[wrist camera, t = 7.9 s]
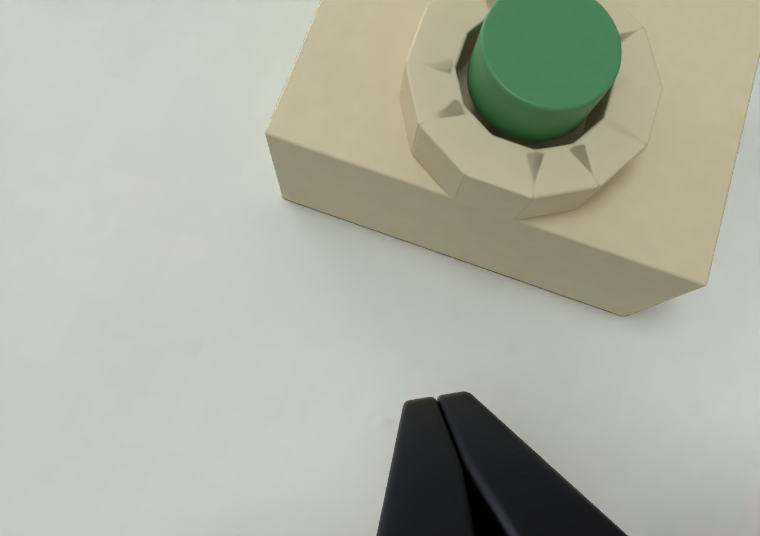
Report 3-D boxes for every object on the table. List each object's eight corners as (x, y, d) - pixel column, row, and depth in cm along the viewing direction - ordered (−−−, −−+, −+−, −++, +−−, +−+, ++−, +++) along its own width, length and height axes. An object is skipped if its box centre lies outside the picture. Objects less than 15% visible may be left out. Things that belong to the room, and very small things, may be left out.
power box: (623, 319, 22) (749, 273, 15) (281, 199, 22) (253, 102, 16) (691, 60, 24) (826, -80, 18) (379, -45, 25) (393, -223, 18)
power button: (575, 161, 16) (602, 130, 14) (449, 118, 16) (461, 82, 14) (608, 48, 17) (638, 6, 15) (487, 7, 17) (503, -39, 15)
